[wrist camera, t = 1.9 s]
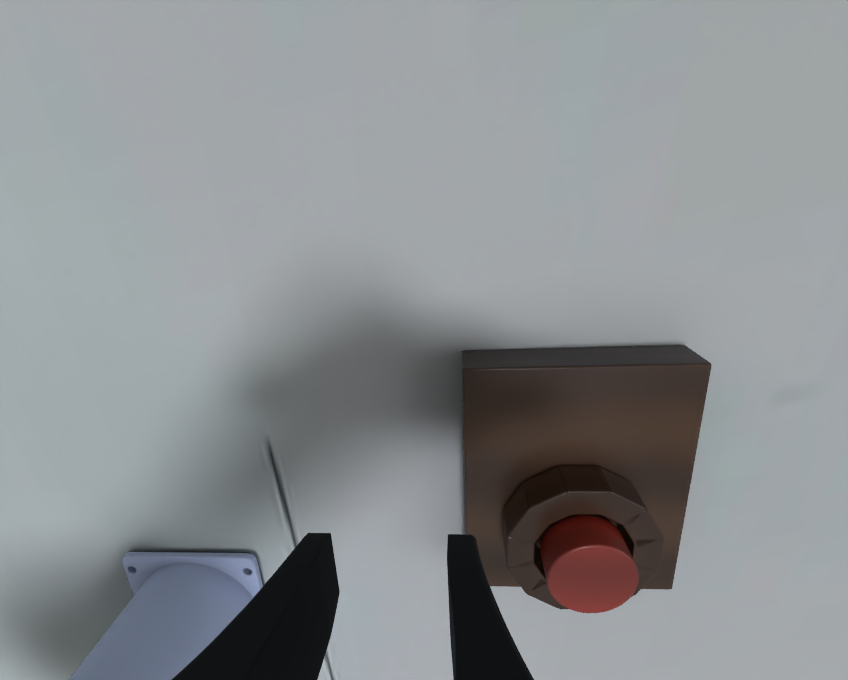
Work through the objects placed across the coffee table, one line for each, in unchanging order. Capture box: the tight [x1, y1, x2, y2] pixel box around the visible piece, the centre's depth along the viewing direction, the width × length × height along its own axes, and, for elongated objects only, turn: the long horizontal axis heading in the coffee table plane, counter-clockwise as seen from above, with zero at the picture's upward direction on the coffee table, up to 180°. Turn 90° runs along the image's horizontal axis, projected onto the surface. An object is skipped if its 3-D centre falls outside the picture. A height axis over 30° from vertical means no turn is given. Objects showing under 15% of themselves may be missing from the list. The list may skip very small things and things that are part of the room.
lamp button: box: [540, 515, 639, 613], centre depth 18 cm, size 4×4×2 cm
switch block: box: [462, 346, 711, 609], centre depth 20 cm, size 12×10×4 cm
